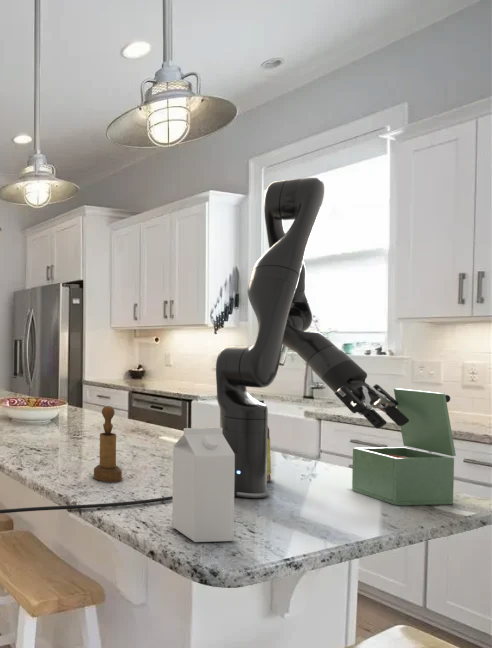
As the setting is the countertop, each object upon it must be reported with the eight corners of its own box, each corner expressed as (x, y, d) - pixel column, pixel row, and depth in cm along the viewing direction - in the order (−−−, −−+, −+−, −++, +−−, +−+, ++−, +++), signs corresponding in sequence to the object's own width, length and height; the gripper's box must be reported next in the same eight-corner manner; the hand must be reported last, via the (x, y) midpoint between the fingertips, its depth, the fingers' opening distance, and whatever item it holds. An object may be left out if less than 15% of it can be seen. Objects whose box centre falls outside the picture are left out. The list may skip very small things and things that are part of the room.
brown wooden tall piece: (95, 481, 122) (96, 407, 122) (92, 474, 129) (92, 404, 128) (124, 482, 121) (124, 408, 121) (119, 475, 127) (119, 405, 127)
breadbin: (396, 505, 104) (397, 458, 104) (351, 490, 115) (352, 447, 115) (453, 504, 105) (454, 457, 105) (404, 489, 116) (404, 446, 115)
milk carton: (171, 527, 92) (172, 424, 92) (208, 526, 93) (209, 424, 92) (194, 543, 85) (195, 432, 85) (234, 541, 86) (235, 431, 85)
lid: (442, 393, 104) (462, 389, 104) (393, 388, 115) (412, 384, 115) (452, 456, 105) (473, 451, 105) (403, 445, 115) (422, 441, 116)
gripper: (330, 359, 114) (390, 416, 104) (367, 358, 120) (427, 412, 109) (305, 380, 119) (359, 437, 109) (341, 379, 125) (397, 432, 114)
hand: (393, 424), depth 109 cm, fingers open, 8 cm apart
